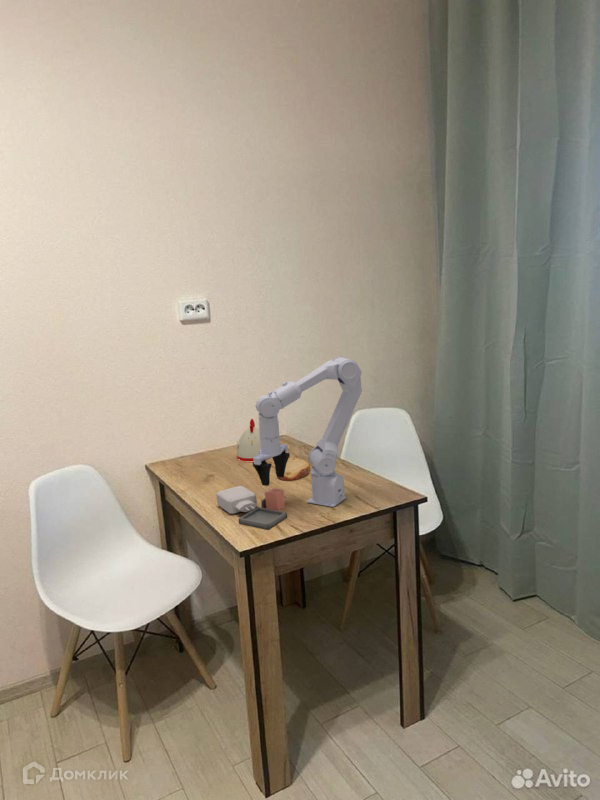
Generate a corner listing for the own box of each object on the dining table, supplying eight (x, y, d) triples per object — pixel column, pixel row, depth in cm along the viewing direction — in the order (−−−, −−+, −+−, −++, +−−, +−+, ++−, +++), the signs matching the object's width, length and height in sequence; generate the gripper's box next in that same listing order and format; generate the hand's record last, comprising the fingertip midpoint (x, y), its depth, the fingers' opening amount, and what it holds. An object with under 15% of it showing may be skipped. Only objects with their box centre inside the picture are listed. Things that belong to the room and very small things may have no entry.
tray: (287, 517, 166) (286, 512, 166) (268, 529, 159) (268, 524, 158) (258, 511, 172) (257, 507, 171) (239, 523, 164) (238, 518, 164)
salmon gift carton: (284, 507, 174) (283, 489, 173) (277, 511, 171) (276, 493, 170) (273, 505, 176) (271, 487, 175) (266, 509, 173) (264, 491, 172)
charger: (237, 521, 165) (217, 506, 178) (266, 513, 170) (244, 499, 183) (236, 505, 164) (216, 491, 177) (265, 497, 169) (243, 484, 182)
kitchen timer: (234, 463, 220) (231, 424, 217) (239, 452, 234) (236, 416, 231) (271, 461, 219) (268, 422, 216) (274, 450, 233) (271, 414, 230)
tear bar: (274, 503, 177) (273, 494, 177) (262, 510, 172) (262, 500, 172) (271, 502, 178) (270, 493, 177) (259, 509, 173) (258, 500, 173)
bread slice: (291, 461, 219) (291, 451, 219) (326, 469, 207) (326, 459, 206) (255, 474, 207) (254, 464, 206) (290, 484, 194) (289, 473, 194)
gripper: (272, 429, 177) (276, 471, 180) (243, 441, 165) (247, 487, 168) (292, 431, 173) (295, 474, 176) (263, 444, 162) (267, 490, 164)
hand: (273, 481), depth 172 cm, fingers open, 7 cm apart
